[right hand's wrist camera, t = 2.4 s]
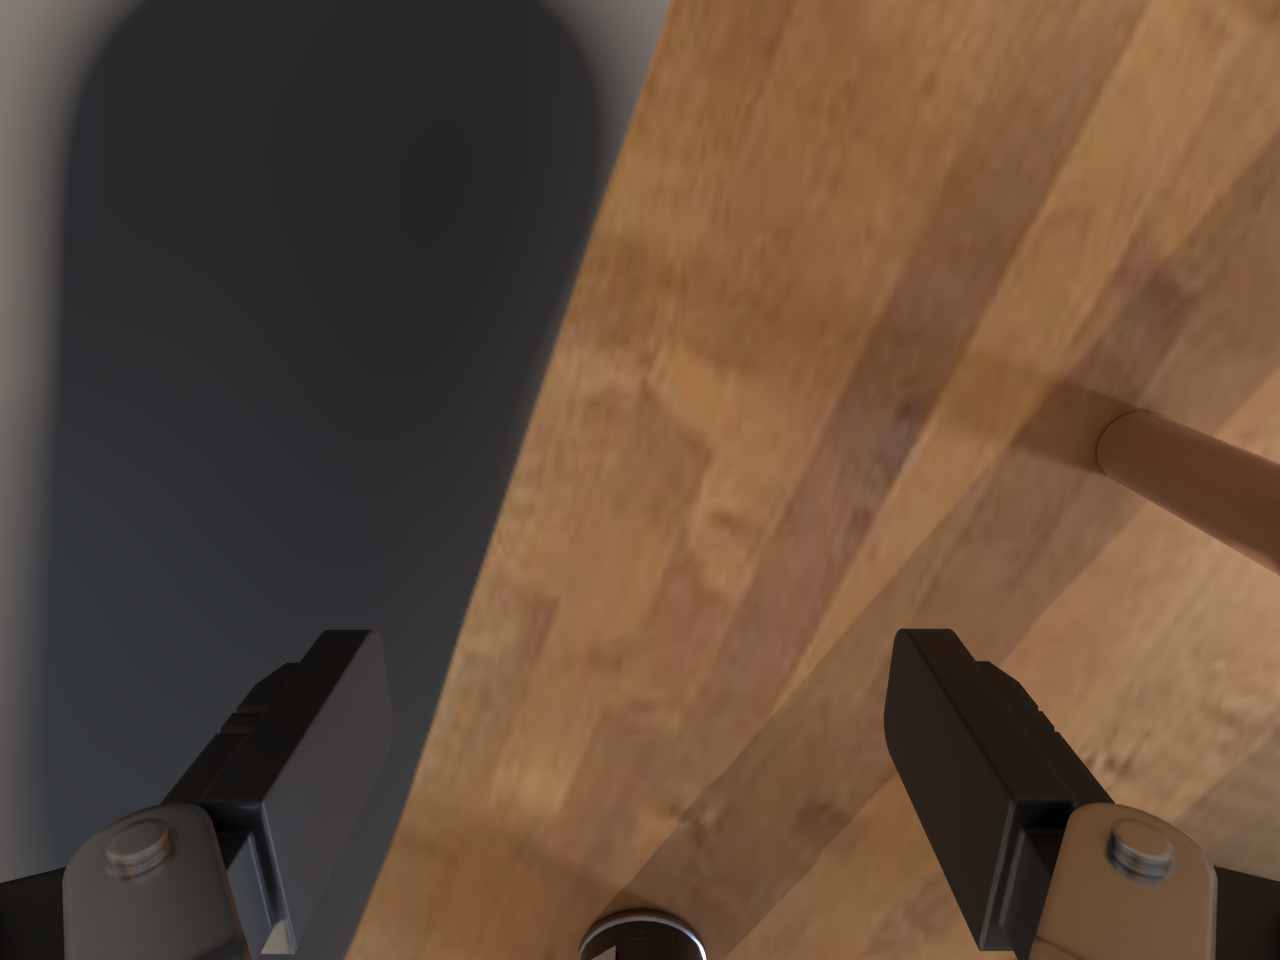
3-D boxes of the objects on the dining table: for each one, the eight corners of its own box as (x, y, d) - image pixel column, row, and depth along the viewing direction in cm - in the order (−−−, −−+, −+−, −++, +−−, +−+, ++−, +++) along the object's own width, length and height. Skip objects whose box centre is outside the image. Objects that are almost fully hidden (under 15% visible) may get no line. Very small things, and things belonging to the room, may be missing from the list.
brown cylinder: (1148, 395, 40) (1550, 546, 22) (1184, 448, 41) (1596, 633, 23) (1081, 444, 41) (1417, 625, 23) (1118, 494, 42) (1466, 705, 24)
